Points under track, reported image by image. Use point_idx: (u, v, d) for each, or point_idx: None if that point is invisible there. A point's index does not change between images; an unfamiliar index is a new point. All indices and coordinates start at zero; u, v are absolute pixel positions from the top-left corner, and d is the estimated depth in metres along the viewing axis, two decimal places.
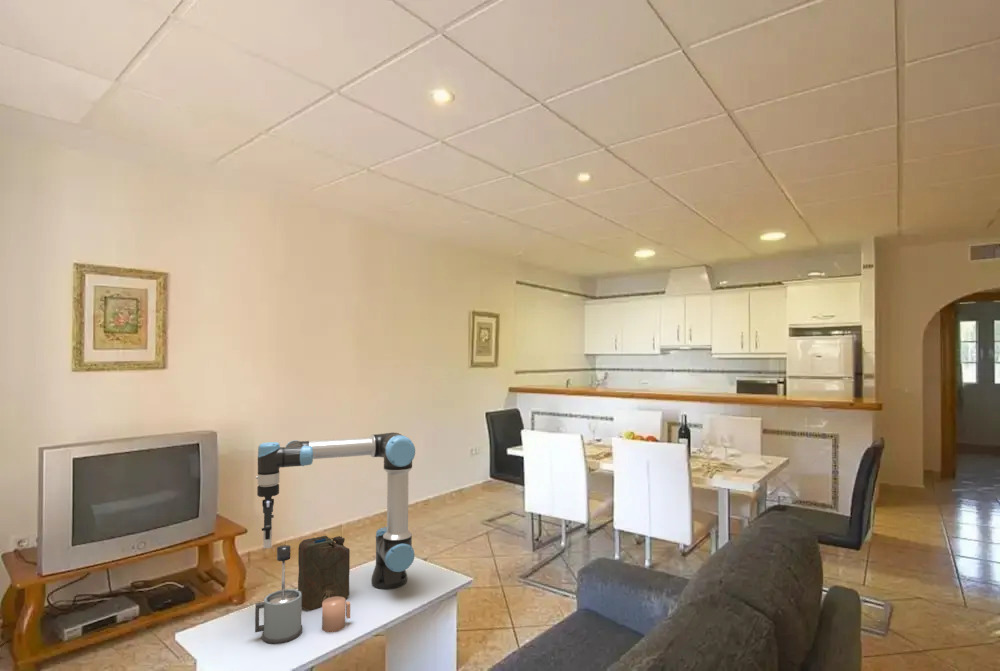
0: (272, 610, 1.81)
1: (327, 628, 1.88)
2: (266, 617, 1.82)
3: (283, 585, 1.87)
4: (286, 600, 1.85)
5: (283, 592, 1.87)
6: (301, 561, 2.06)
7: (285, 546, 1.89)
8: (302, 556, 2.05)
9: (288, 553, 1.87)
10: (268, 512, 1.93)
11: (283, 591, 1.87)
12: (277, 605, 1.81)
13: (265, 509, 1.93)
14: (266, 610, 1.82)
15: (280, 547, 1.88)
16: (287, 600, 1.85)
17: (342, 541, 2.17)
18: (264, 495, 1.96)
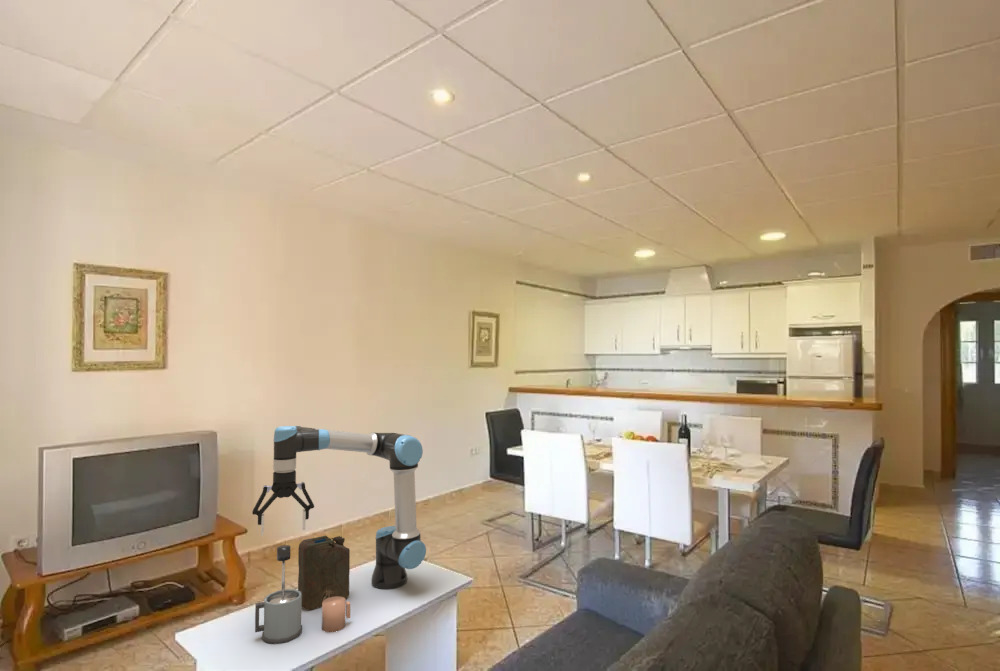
0: (272, 610, 1.81)
1: (327, 628, 1.88)
2: (266, 617, 1.82)
3: (283, 585, 1.87)
4: (286, 600, 1.85)
5: (283, 592, 1.87)
6: (301, 561, 2.06)
7: (285, 546, 1.89)
8: (302, 556, 2.05)
9: (288, 553, 1.87)
10: (260, 497, 1.85)
11: (283, 591, 1.87)
12: (277, 605, 1.81)
13: (262, 493, 1.86)
14: (266, 610, 1.82)
15: (280, 547, 1.88)
16: (287, 600, 1.85)
17: (342, 542, 2.17)
18: None
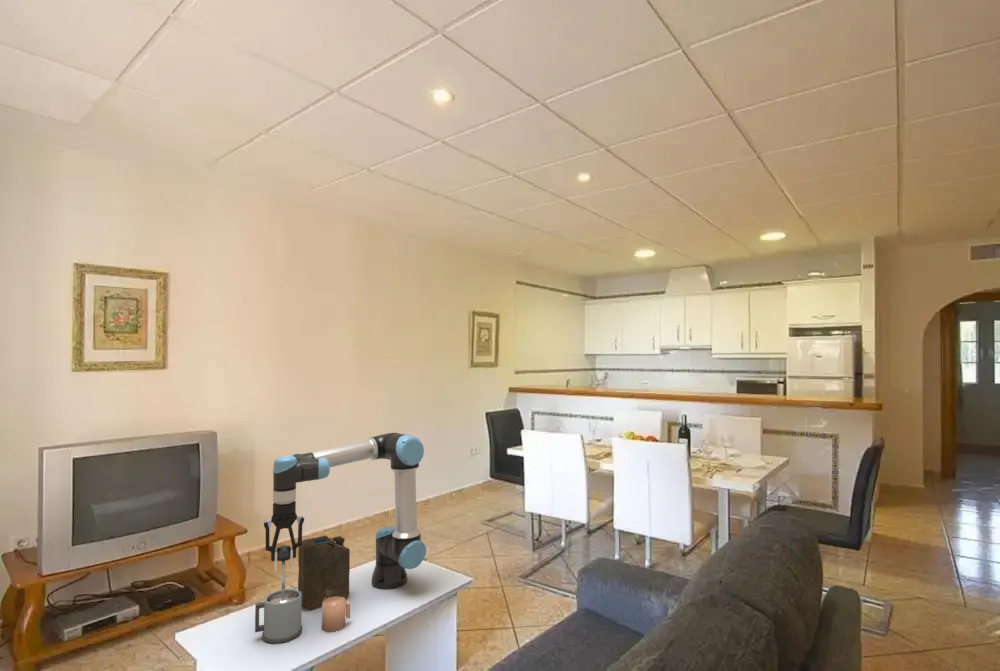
0: (272, 610, 1.81)
1: (327, 628, 1.88)
2: (266, 617, 1.82)
3: (283, 585, 1.87)
4: (286, 600, 1.85)
5: (283, 592, 1.87)
6: (301, 561, 2.06)
7: (285, 546, 1.89)
8: (302, 556, 2.05)
9: (288, 553, 1.87)
10: None
11: (283, 591, 1.87)
12: (277, 605, 1.81)
13: None
14: (266, 610, 1.82)
15: (280, 547, 1.88)
16: (287, 600, 1.85)
17: (342, 542, 2.17)
18: None
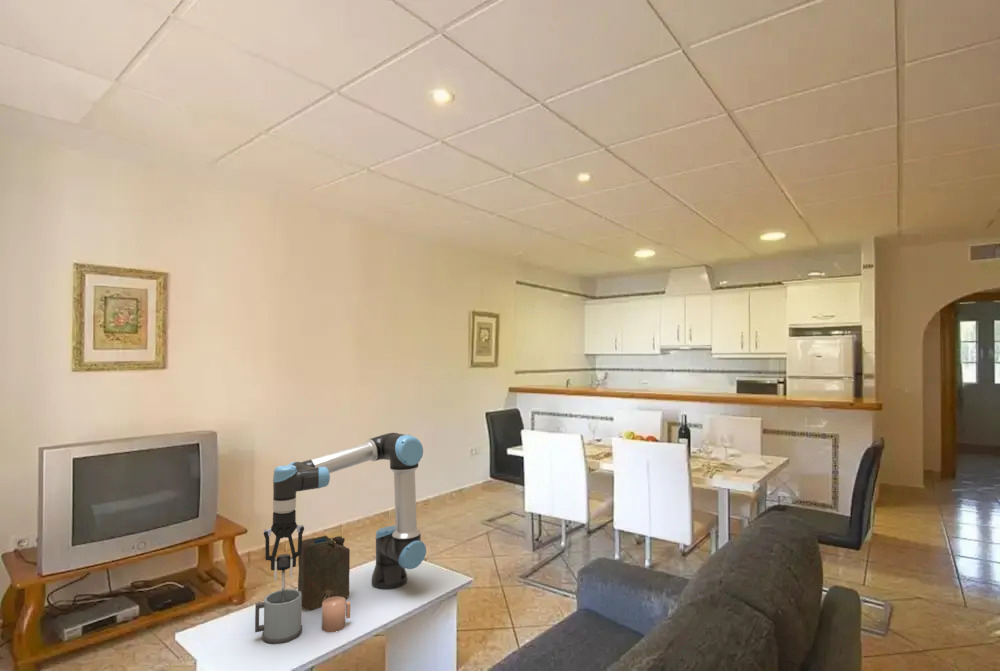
0: (272, 610, 1.81)
1: (327, 628, 1.88)
2: (266, 617, 1.82)
3: (283, 594, 1.87)
4: None
5: (283, 601, 1.87)
6: (301, 561, 2.06)
7: (285, 555, 1.88)
8: (302, 556, 2.05)
9: (288, 562, 1.87)
10: (265, 542, 1.85)
11: (283, 600, 1.87)
12: (277, 605, 1.81)
13: (265, 538, 1.86)
14: (266, 610, 1.82)
15: (280, 556, 1.87)
16: None
17: (342, 542, 2.17)
18: None
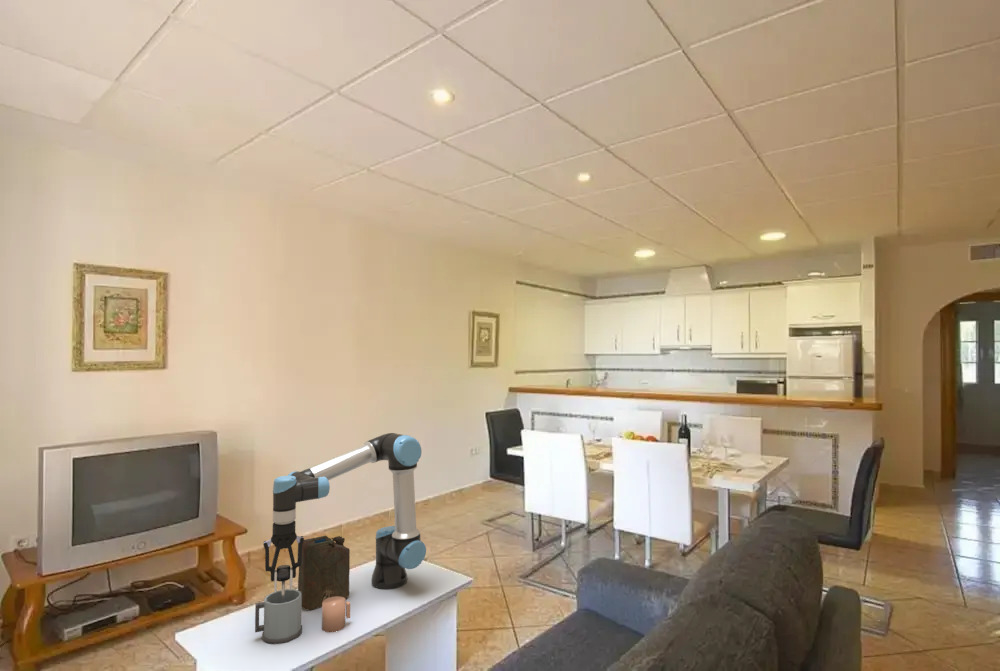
0: (272, 610, 1.81)
1: (327, 628, 1.88)
2: (266, 617, 1.82)
3: None
4: None
5: None
6: None
7: (285, 566, 1.88)
8: (302, 556, 2.05)
9: (288, 573, 1.87)
10: (265, 553, 1.85)
11: None
12: (277, 605, 1.81)
13: None
14: (266, 610, 1.82)
15: (280, 567, 1.87)
16: None
17: (342, 541, 2.17)
18: None
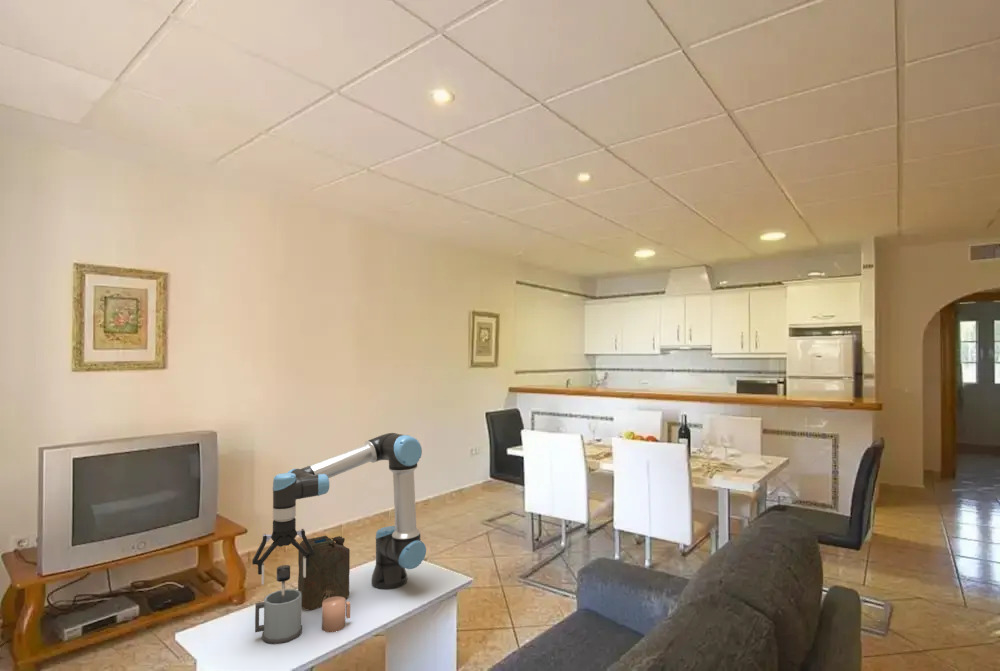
0: (272, 610, 1.81)
1: (327, 628, 1.88)
2: (266, 617, 1.82)
3: None
4: None
5: None
6: (301, 561, 2.06)
7: (285, 566, 1.88)
8: (302, 556, 2.05)
9: (288, 573, 1.87)
10: (260, 546, 1.84)
11: None
12: (277, 605, 1.81)
13: (261, 542, 1.86)
14: (266, 610, 1.82)
15: (280, 567, 1.87)
16: None
17: (342, 542, 2.17)
18: None
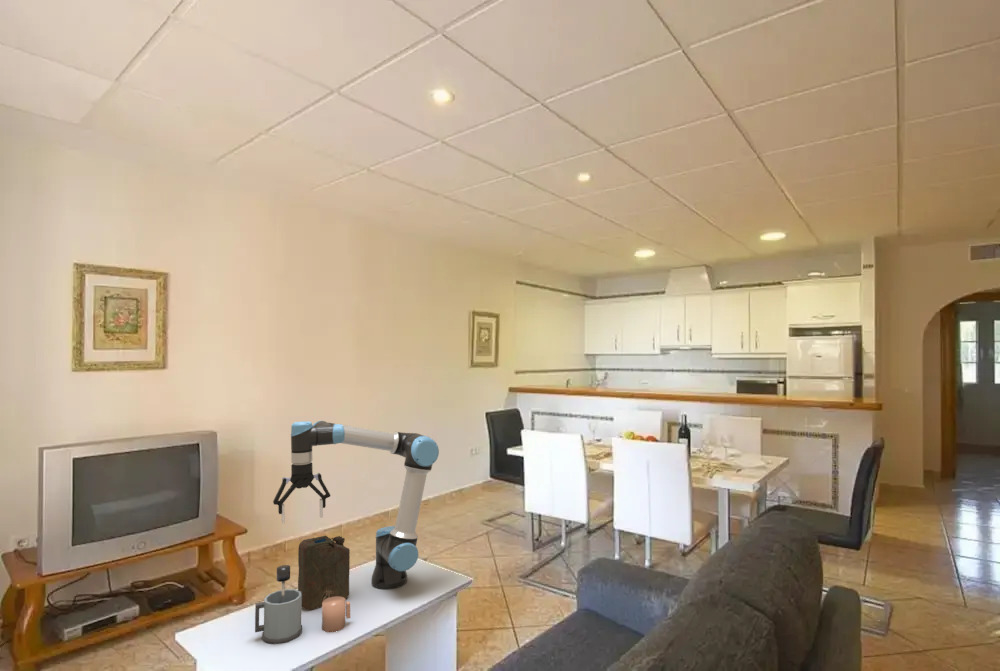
0: (272, 610, 1.81)
1: (327, 628, 1.88)
2: (266, 617, 1.82)
3: None
4: None
5: None
6: (301, 561, 2.06)
7: (285, 566, 1.88)
8: (302, 556, 2.05)
9: (288, 573, 1.87)
10: (280, 488, 1.98)
11: None
12: (277, 605, 1.81)
13: (281, 484, 1.99)
14: (266, 610, 1.82)
15: (280, 567, 1.87)
16: None
17: (342, 541, 2.17)
18: None
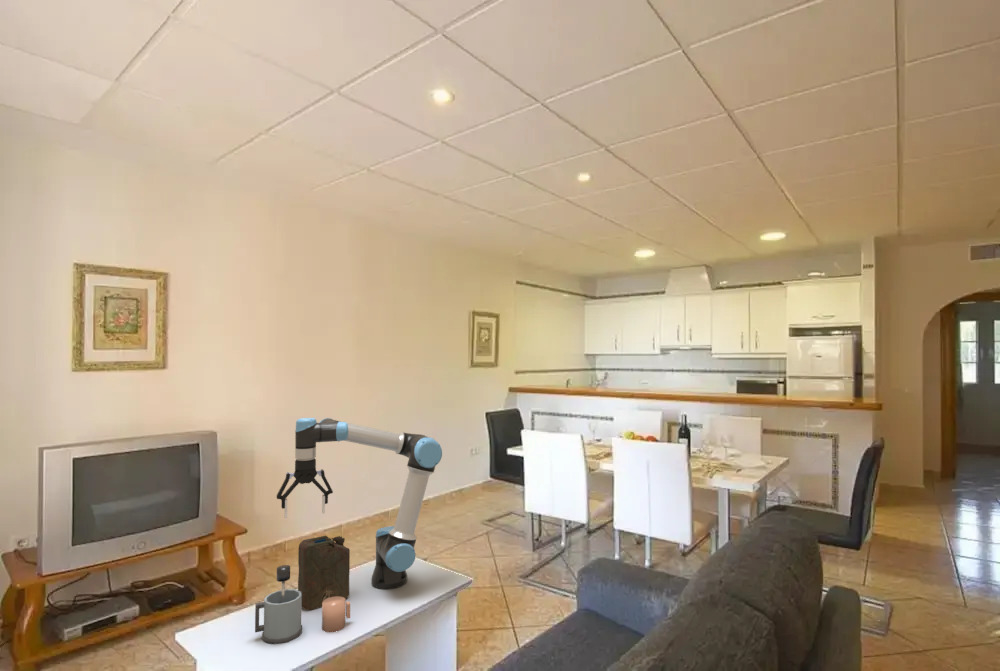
0: (272, 610, 1.81)
1: (327, 628, 1.88)
2: (266, 617, 1.82)
3: None
4: None
5: None
6: (301, 561, 2.06)
7: (285, 566, 1.88)
8: (302, 556, 2.05)
9: (288, 573, 1.87)
10: (283, 483, 2.01)
11: None
12: (277, 605, 1.81)
13: (285, 479, 2.02)
14: (266, 610, 1.82)
15: (280, 567, 1.87)
16: None
17: (342, 542, 2.17)
18: None
